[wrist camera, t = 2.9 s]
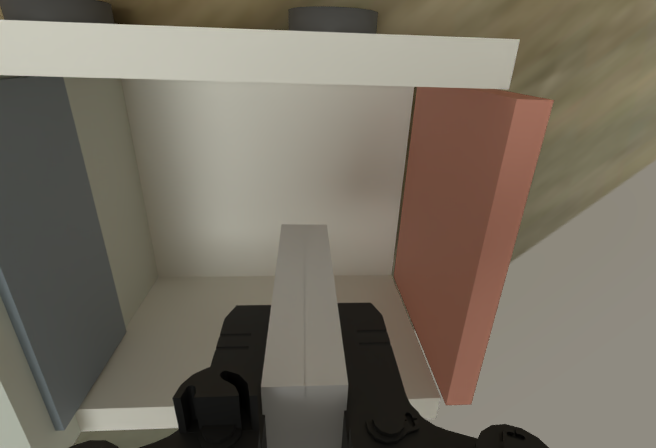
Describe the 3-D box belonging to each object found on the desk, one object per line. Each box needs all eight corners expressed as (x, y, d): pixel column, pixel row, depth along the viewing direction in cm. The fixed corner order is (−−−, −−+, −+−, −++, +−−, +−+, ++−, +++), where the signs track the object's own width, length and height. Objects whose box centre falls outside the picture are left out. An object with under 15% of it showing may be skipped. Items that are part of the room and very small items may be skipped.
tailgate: (414, 276, 22) (478, 404, 14) (393, 276, 22) (446, 405, 14) (444, 78, 18) (564, 100, 10) (418, 77, 18) (516, 99, 10)
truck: (376, 275, 28) (447, 491, 14) (82, 278, 26) (-156, 521, 13) (401, 18, 21) (594, -47, 7) (2, 2, 19) (-732, -120, 6)
